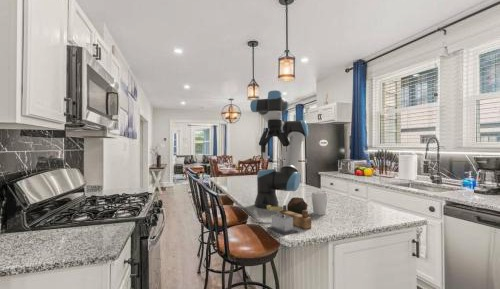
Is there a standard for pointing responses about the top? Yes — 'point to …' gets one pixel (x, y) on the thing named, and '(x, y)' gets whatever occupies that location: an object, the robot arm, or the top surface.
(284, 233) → the mat
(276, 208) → the lever
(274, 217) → the grey block
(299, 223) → the plane body
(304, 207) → the rock
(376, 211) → the top surface
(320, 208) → the cup
